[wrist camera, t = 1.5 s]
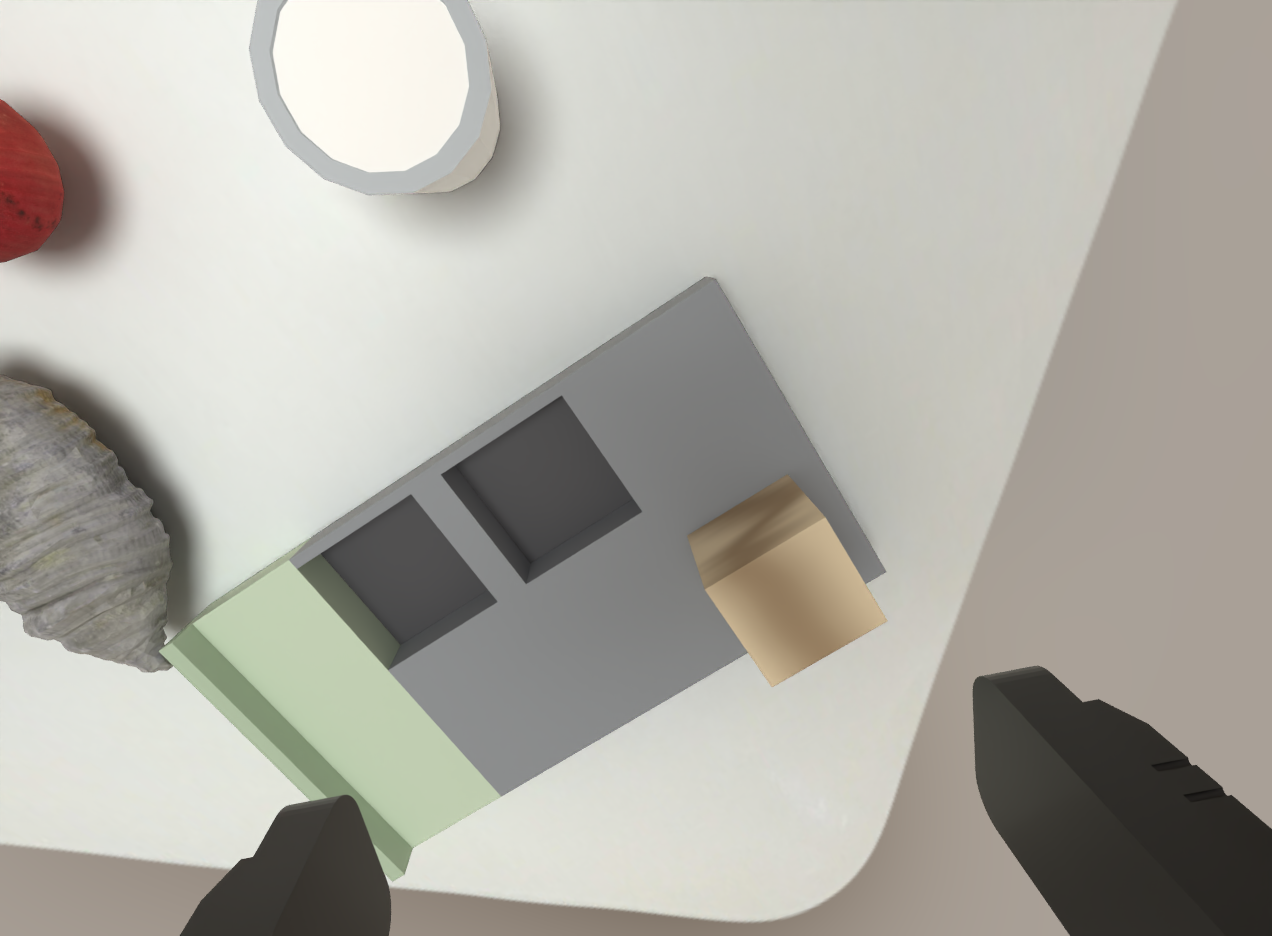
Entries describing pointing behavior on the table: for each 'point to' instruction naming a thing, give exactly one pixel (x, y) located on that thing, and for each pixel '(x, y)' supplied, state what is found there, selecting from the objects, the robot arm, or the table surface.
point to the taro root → (77, 536)
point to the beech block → (783, 580)
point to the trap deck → (513, 583)
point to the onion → (26, 187)
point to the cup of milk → (378, 90)
